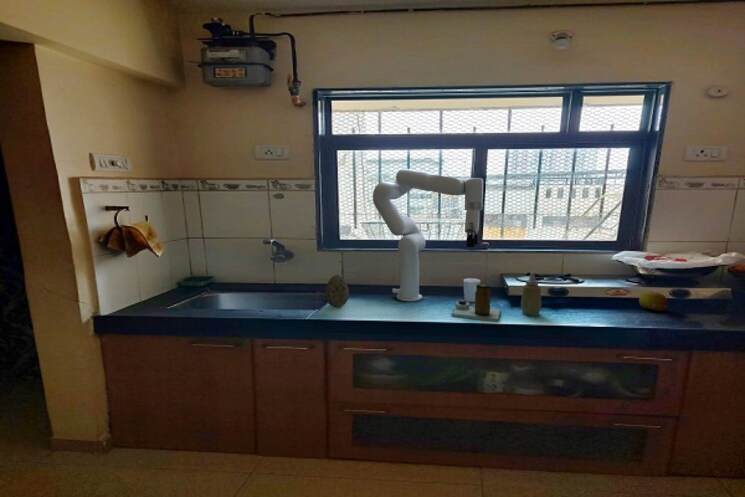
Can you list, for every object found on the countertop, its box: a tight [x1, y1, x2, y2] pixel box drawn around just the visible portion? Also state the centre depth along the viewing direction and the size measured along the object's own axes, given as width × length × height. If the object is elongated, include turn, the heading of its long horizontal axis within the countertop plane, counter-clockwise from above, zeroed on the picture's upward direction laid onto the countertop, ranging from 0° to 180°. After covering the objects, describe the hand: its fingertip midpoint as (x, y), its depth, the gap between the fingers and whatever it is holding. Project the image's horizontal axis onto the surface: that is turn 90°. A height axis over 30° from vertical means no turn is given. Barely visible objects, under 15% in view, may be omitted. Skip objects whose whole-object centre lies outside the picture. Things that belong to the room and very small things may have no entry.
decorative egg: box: [324, 274, 350, 309], centre depth 160 cm, size 11×11×15 cm
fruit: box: [638, 291, 668, 312], centre depth 150 cm, size 10×9×8 cm
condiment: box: [471, 283, 497, 317], centre depth 144 cm, size 7×8×12 cm
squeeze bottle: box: [520, 271, 543, 317], centre depth 147 cm, size 8×8×18 cm
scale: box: [451, 301, 501, 322], centre depth 148 cm, size 18×13×3 cm
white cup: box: [462, 277, 481, 303], centre depth 169 cm, size 8×8×10 cm
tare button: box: [458, 299, 467, 305], centre depth 154 cm, size 3×3×2 cm
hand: (472, 245), depth 156 cm, fingers open, 9 cm apart
